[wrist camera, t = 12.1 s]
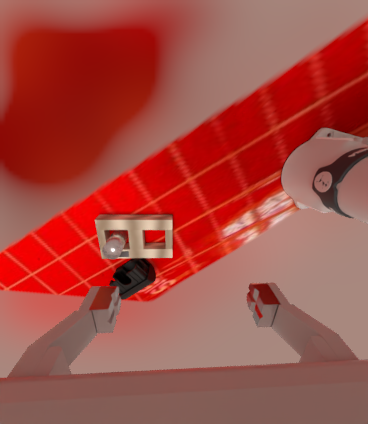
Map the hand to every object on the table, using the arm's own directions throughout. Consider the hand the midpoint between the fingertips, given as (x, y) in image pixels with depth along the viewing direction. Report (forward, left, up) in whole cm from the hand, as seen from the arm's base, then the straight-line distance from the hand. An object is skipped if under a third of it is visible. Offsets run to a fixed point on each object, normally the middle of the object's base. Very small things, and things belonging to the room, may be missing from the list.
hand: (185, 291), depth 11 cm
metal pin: (+14, +15, -33) cm, 39 cm away
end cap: (+11, +27, -33) cm, 44 cm away
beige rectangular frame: (+10, +15, -33) cm, 38 cm away
